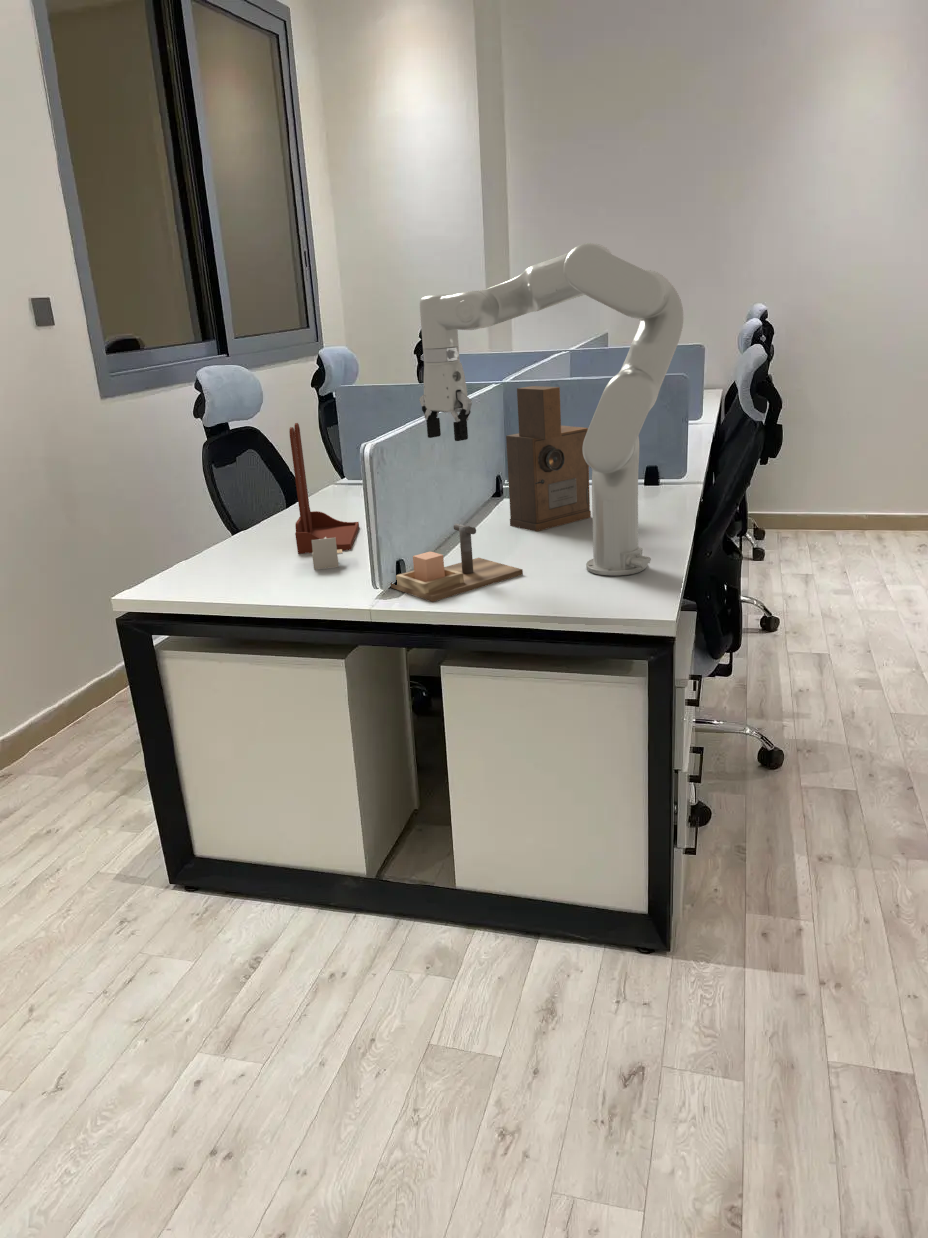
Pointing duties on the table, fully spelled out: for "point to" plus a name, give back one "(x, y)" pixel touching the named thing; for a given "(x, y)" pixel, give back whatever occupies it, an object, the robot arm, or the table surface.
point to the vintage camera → (546, 464)
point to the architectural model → (325, 553)
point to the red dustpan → (315, 522)
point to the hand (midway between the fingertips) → (447, 438)
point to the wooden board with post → (458, 574)
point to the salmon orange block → (428, 566)
